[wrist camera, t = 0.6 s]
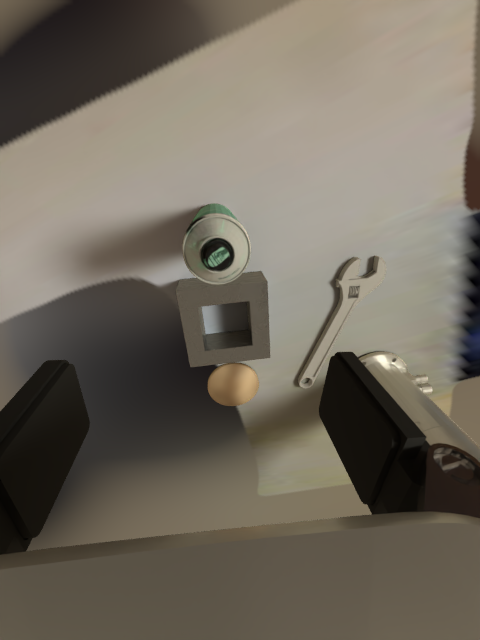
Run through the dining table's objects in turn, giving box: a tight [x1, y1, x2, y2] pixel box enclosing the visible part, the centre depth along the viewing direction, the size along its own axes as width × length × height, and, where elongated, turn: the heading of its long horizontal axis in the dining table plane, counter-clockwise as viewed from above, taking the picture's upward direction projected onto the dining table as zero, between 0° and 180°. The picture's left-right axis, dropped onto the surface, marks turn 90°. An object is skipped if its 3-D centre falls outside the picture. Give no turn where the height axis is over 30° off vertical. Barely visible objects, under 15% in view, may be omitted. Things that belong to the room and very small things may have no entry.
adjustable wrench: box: [298, 256, 386, 388], centre depth 45 cm, size 25×6×2 cm, turn 156°
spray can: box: [182, 204, 251, 285], centre depth 28 cm, size 6×6×20 cm
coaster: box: [208, 362, 259, 406], centre depth 48 cm, size 9×9×1 cm
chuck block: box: [176, 271, 270, 367], centre depth 40 cm, size 12×12×5 cm
